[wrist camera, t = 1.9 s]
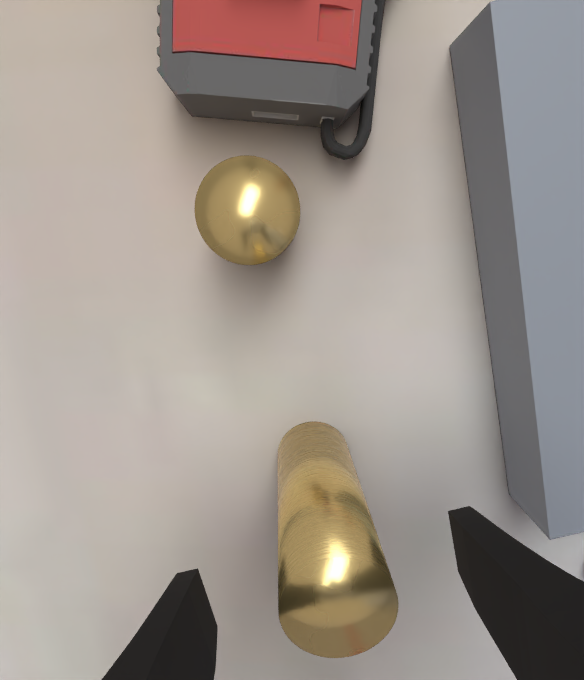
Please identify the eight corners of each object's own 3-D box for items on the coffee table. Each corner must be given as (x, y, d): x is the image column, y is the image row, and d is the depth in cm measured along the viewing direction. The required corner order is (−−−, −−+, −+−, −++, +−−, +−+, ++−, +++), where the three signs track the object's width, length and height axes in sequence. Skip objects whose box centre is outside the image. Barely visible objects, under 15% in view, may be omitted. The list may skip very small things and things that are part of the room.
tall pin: (354, 477, 19) (407, 643, 11) (286, 492, 19) (293, 668, 11) (340, 414, 18) (386, 545, 11) (270, 430, 19) (265, 572, 11)
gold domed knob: (302, 247, 17) (310, 251, 13) (226, 265, 17) (211, 275, 13) (284, 165, 16) (286, 143, 12) (204, 185, 16) (181, 169, 12)
